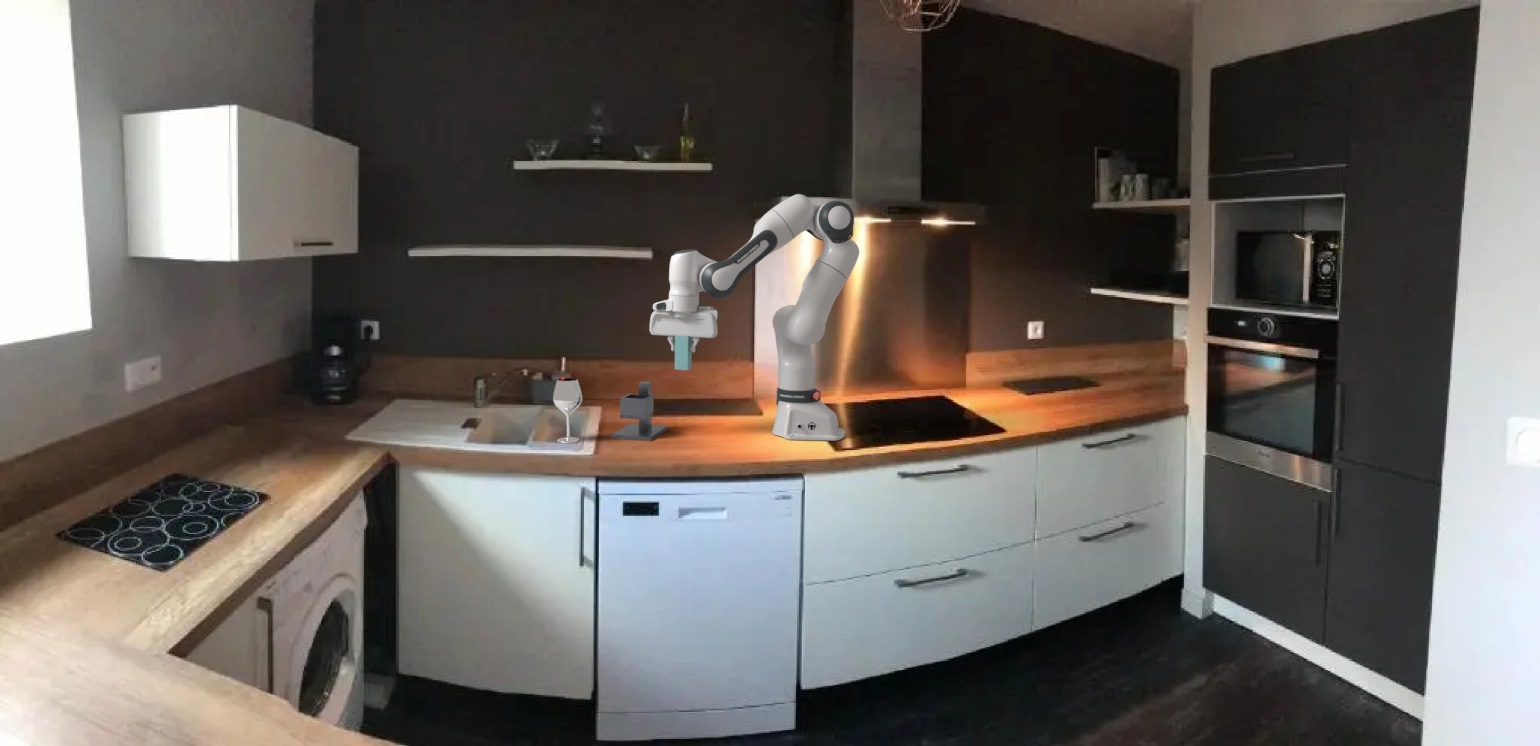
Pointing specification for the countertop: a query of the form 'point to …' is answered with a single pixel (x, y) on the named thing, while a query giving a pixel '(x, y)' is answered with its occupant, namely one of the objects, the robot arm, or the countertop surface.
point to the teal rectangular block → (683, 353)
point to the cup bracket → (639, 415)
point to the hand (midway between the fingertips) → (683, 351)
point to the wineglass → (567, 402)
